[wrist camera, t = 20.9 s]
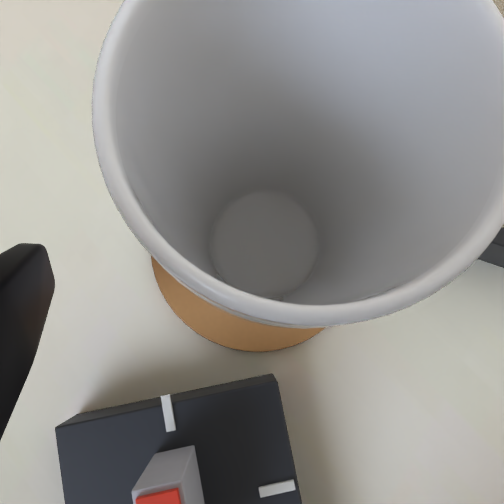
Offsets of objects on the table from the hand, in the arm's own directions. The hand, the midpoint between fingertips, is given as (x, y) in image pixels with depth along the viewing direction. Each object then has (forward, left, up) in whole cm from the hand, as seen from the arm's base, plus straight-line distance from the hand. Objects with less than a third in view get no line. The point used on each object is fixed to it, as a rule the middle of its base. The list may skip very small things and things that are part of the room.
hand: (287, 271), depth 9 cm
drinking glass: (+2, -1, -13) cm, 13 cm away
